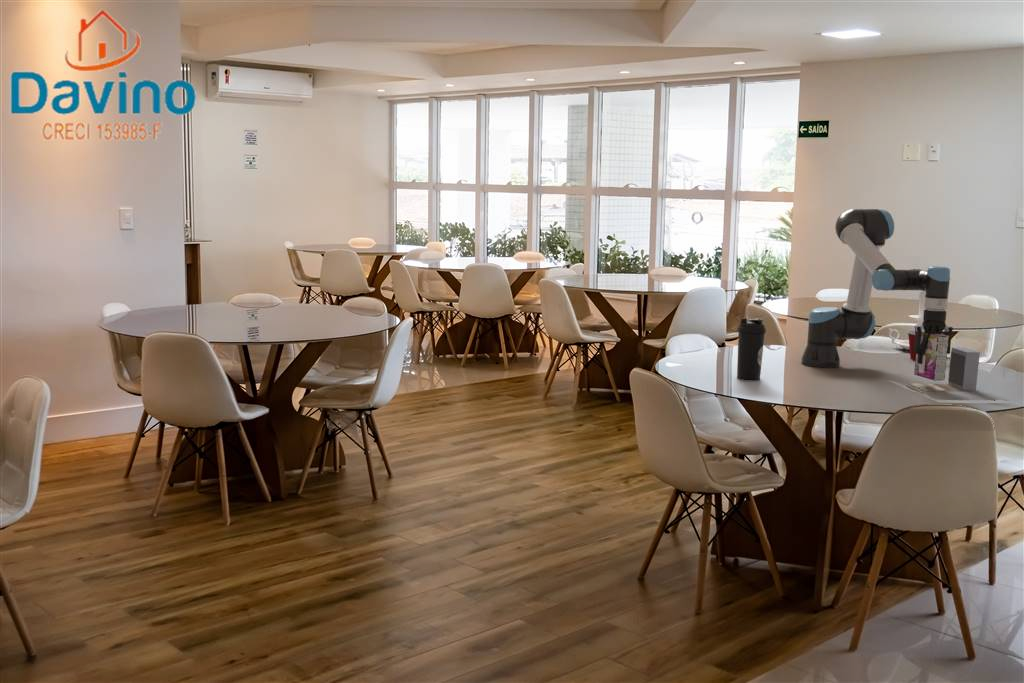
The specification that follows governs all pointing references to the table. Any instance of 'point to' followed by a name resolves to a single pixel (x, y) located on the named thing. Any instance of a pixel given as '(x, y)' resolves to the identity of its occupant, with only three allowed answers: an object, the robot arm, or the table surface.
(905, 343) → the candlestick
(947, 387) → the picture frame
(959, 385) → the grey upright block
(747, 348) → the water bottle
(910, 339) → the plastic cup
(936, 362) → the candy bar box
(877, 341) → the table surface
